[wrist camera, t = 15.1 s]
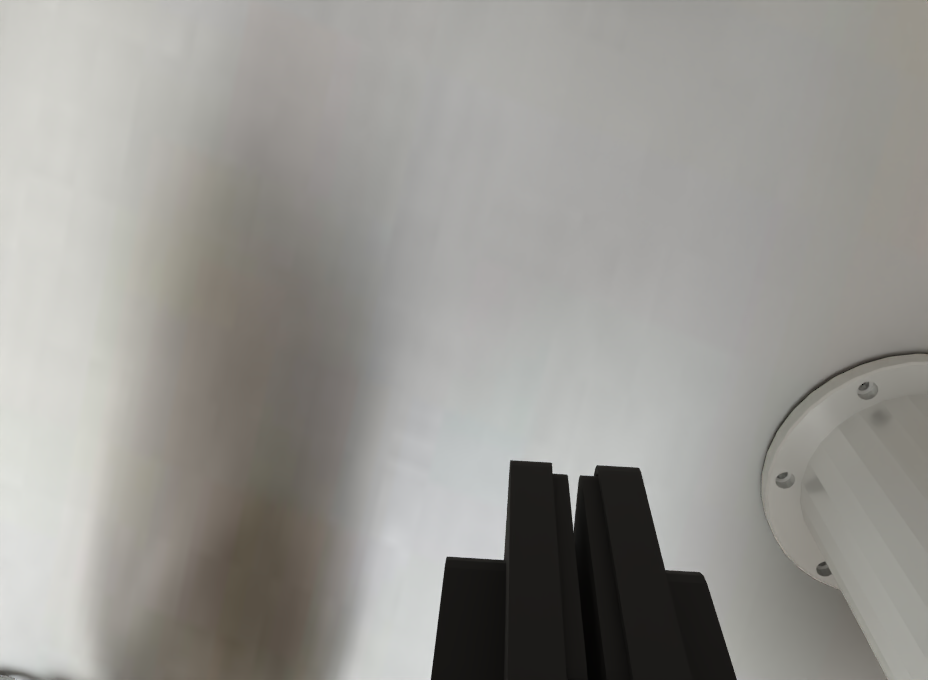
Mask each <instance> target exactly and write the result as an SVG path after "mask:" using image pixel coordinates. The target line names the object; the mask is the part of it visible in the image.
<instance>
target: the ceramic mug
mask: <svg viewBox="0 0 928 680" xmlns="http://www.w3.org/2000/svg"><path fill="white" fill-rule="evenodd" d="M0 680H15V678H12V677H9V676H6V675H0Z"/></svg>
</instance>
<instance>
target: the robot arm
mask: <svg viewBox="0 0 928 680" xmlns="http://www.w3.org/2000/svg"><path fill="white" fill-rule="evenodd" d="M864 382H865V384H864V385H862V386H860V385H861V384H863V383H864ZM781 473H782V474H781ZM761 498H762V502H763V507H764V512H765V516H766V519H767V521H768V523H769V525H770V528H771V530H772V533H773V535H774V537H775V539H776V540H777V542H778V543H779V545H780V547H781V548H782V550H783V551H784V553H785V554H786V555H787V556H788V557H789V558H790V559H791V560H792V561H793V562H794V563H795V564H796V565H797V566H798V567H799V568H800V569H801V570H802V571H804V572H805V573H806V574H808V575H809V576H811V577H812V578H814V579H815V580H817V581H819V582H821V583H824V584H826V585H829V586H831V587H833V588H836V589H838V590H841V592H842V594H843V595H844V597H845V599H846V601H847V603H848V605H849V607H850V609H851V611H852V613H853V614H854V616H855V618H856V620H857V622H858V624H859V626H860V628H861V630H862V632H863V634H864V635H865V637H866V639H867V641H868V643H869V645H870V647H871V649H872V651H873V653H874V655H875V656H876V658H877V660H878V662H879V664H880V666H881V668H882V670H883V672H884V674H885V675H886V677H887V679H888V680H928V354H910V355H901V356H893V357H887V358H883V359H880V360H876V361H873V362H869V363H866V364H862V365H860V366H857V367H855V368H853V369H851V370H849V371H847V372H844V373H842V374H840V375H838V376H836V377H834V378H833V379H831V380H830V381H828V382H827V383H825V384H824V385H822V386H821V387H819V388H818V389H816V390H815V391H813V392H812V393H811V394H810V395H809V396H808V397H807V398H806V399H805V400H803V401H802V402H801V403H800V404H799V405H798V406H797V407H796V408H795V409H794V410H793V411H792V412H791V414H790V415H789V416H788V418H787V419H786V420H785V422H784V423H783V424H782V426H781V427H780V428H779V430H778V431H777V433H776V435H775V437H774V440H773V442H772V444H771V446H770V448H769V450H768V452H767V455H766V459H765V464H764V468H763V472H762V485H761ZM431 680H737V679H736V676H735V672H734V669H733V666H732V663H731V659H730V656H729V653H728V650H727V647H726V643H725V640H724V637H723V634H722V630H721V627H720V624H719V621H718V618H717V614H716V611H715V608H714V605H713V601H712V598H711V595H710V592H709V589H708V585H707V583H706V580H705V578H704V576H703V575H702V574H701V573H700V572H685V571H669V570H665V568H664V564H663V560H662V556H661V552H660V548H659V544H658V540H657V535H656V531H655V527H654V523H653V519H652V515H651V511H650V507H649V503H648V499H647V495H646V491H645V487H644V483H643V479H642V475H641V471H640V469H639V468H633V467H616V466H599V465H597V466H596V469H595V473H594V476H581V475H580V477H579V483H578V492H577V503H576V513H575V523H574V533H573V523H572V513H571V503H570V493H569V483H568V475H564V474H553V473H552V463H547V462H529V461H512V460H510V471H509V487H508V504H507V520H506V537H505V553H504V560H492V559H476V558H460V557H447V558H446V563H445V570H444V578H443V586H442V594H441V603H440V611H439V619H438V627H437V635H436V643H435V651H434V659H433V667H432V675H431Z"/></svg>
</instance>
